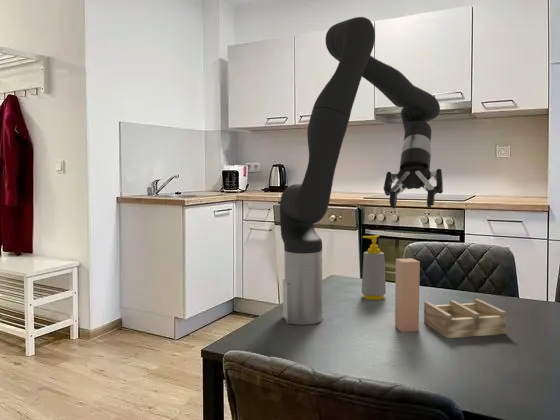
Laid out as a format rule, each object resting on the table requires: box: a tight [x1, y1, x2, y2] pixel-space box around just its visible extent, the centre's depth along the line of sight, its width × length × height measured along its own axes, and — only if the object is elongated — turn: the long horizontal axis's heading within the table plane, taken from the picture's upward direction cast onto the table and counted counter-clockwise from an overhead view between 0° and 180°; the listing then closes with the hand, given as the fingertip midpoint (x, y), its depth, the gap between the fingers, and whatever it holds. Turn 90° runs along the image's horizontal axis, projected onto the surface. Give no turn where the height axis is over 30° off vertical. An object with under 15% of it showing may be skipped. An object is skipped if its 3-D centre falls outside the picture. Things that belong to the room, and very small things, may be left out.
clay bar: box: [394, 258, 421, 333], centre depth 109 cm, size 4×4×16 cm
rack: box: [423, 298, 507, 339], centre depth 110 cm, size 14×11×5 cm
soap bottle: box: [361, 234, 387, 301], centre depth 136 cm, size 7×7×18 cm
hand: (411, 206), depth 117 cm, fingers open, 8 cm apart
